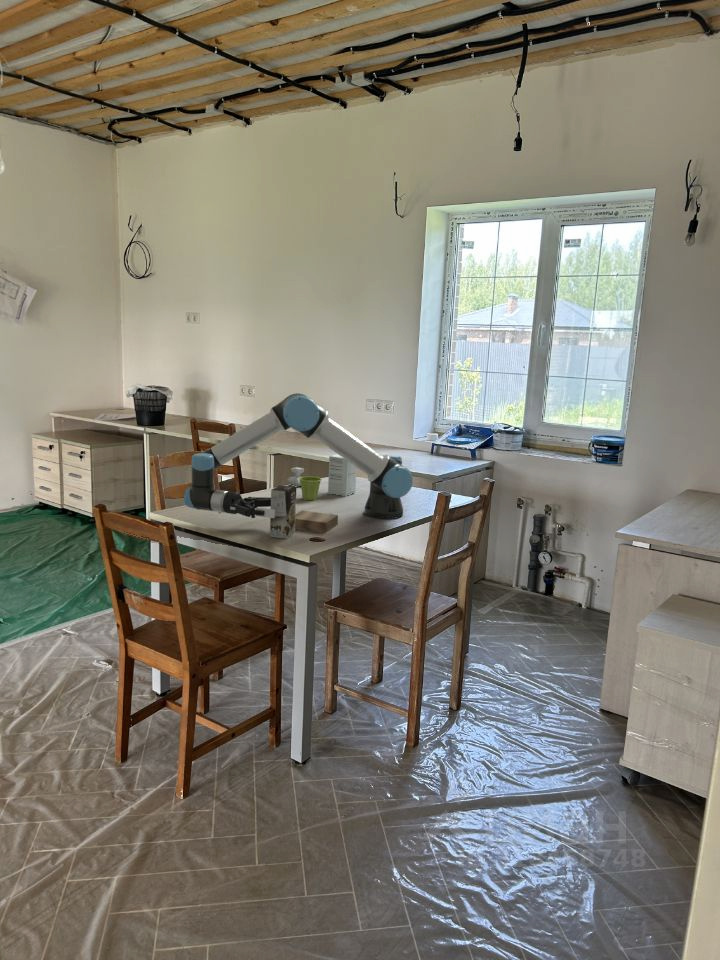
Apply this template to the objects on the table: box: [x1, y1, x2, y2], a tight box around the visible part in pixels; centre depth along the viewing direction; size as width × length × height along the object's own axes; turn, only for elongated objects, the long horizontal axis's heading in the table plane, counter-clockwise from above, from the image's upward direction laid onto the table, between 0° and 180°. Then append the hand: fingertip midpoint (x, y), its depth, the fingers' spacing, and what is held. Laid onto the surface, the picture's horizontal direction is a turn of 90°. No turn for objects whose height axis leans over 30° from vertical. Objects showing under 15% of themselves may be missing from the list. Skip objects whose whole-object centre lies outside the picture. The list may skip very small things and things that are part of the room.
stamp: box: [286, 466, 305, 486], centre depth 304 cm, size 9×7×8 cm
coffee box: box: [269, 485, 297, 540], centre depth 225 cm, size 9×6×16 cm
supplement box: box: [327, 453, 358, 497], centre depth 293 cm, size 10×9×17 cm
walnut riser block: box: [295, 510, 339, 534], centre depth 239 cm, size 14×12×4 cm
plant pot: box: [299, 476, 323, 501], centre depth 280 cm, size 9×9×9 cm
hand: (283, 509), depth 224 cm, fingers open, 13 cm apart
